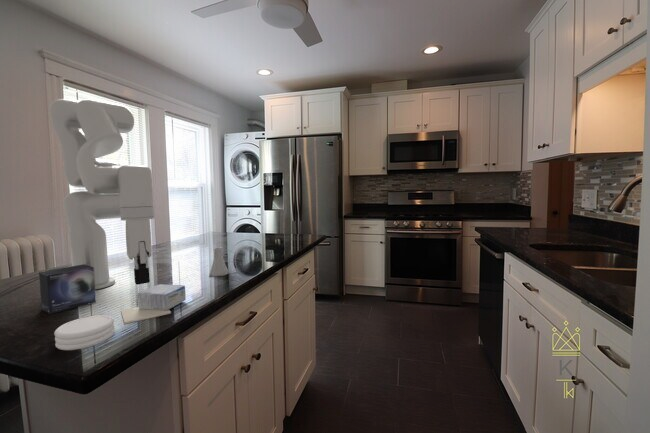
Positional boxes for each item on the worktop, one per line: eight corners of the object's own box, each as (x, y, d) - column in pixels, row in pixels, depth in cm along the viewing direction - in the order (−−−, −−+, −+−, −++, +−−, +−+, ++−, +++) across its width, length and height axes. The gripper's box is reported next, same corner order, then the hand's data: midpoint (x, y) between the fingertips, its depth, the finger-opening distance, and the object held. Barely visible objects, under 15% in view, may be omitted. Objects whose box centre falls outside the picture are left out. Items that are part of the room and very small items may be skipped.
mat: (121, 311, 81) (121, 310, 81) (164, 303, 87) (163, 301, 86) (124, 324, 73) (124, 322, 73) (170, 313, 79) (170, 311, 79)
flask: (225, 276, 112) (224, 249, 112) (205, 277, 112) (204, 250, 112) (231, 271, 120) (230, 246, 119) (213, 272, 120) (211, 246, 119)
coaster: (92, 326, 72) (91, 312, 72) (125, 332, 69) (124, 316, 69) (43, 347, 63) (41, 331, 62) (78, 354, 60) (77, 337, 60)
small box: (49, 315, 79) (46, 275, 78) (40, 310, 83) (37, 271, 82) (97, 302, 88) (94, 266, 87) (87, 298, 92) (84, 263, 91)
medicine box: (137, 309, 81) (167, 311, 79) (136, 292, 81) (166, 294, 79) (159, 298, 89) (186, 300, 87) (158, 283, 88) (185, 285, 87)
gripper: (118, 213, 84) (123, 279, 85) (122, 216, 72) (128, 293, 74) (149, 211, 88) (153, 274, 90) (158, 214, 77) (163, 286, 78)
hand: (142, 282), depth 82 cm, fingers closed
